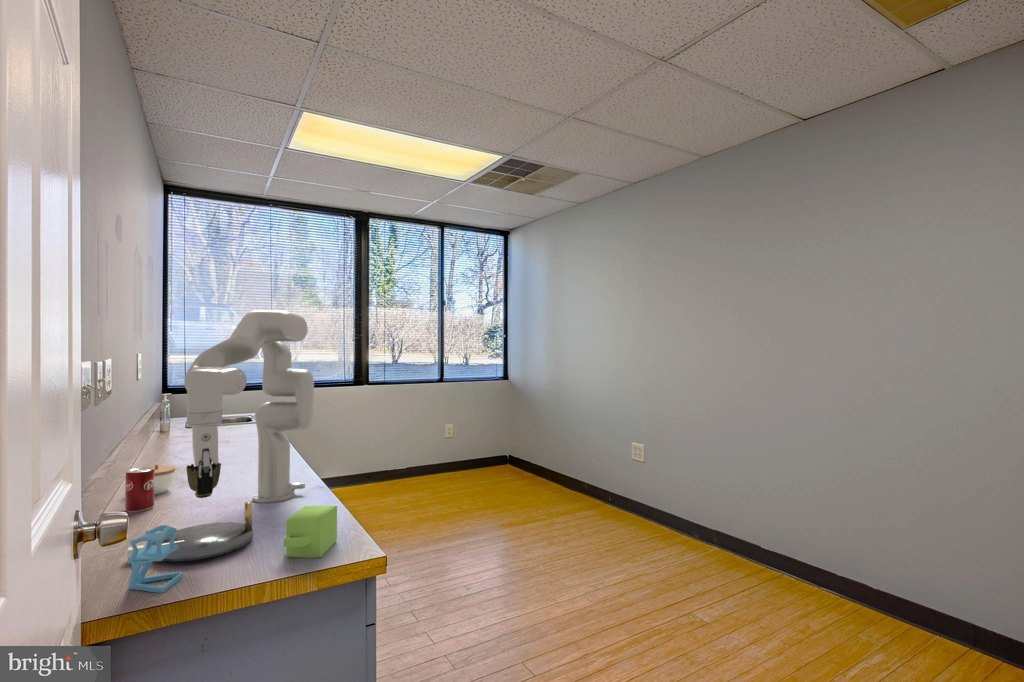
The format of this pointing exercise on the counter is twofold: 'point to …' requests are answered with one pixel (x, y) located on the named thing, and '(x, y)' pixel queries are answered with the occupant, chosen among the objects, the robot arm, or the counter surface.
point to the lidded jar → (163, 478)
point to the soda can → (139, 489)
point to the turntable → (210, 539)
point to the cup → (194, 474)
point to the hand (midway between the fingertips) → (203, 489)
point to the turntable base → (130, 550)
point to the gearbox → (311, 531)
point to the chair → (152, 559)
